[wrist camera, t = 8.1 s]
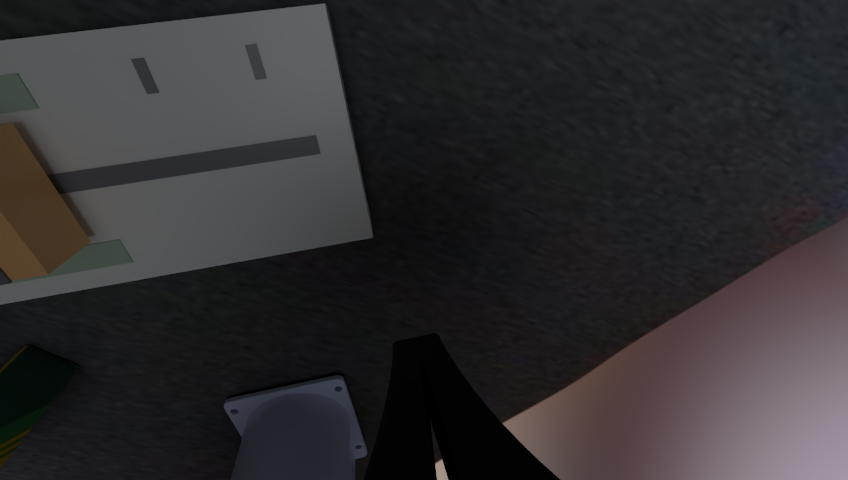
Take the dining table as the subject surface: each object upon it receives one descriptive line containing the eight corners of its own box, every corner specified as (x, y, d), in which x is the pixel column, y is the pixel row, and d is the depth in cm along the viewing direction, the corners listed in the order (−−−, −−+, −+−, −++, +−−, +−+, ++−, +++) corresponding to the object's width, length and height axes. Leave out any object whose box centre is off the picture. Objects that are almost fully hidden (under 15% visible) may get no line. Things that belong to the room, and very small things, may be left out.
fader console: (371, 220, 20) (373, 238, 18) (-71, 297, 18) (-118, 326, 16) (328, 7, 15) (324, 3, 13) (-292, 79, 13) (-396, 85, 11)
